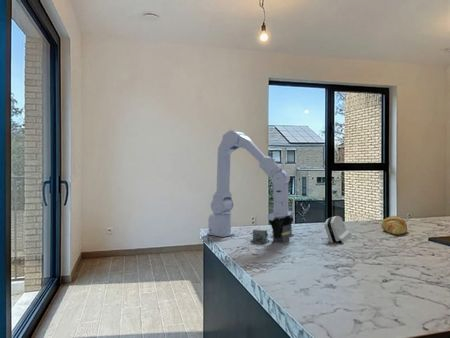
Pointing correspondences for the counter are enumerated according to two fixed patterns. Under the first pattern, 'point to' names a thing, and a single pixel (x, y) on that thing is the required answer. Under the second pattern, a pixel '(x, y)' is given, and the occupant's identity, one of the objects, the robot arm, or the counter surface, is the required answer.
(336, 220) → the hinge
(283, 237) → the block
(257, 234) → the shaft
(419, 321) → the counter surface
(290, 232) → the shaft
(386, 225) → the bread loaf
